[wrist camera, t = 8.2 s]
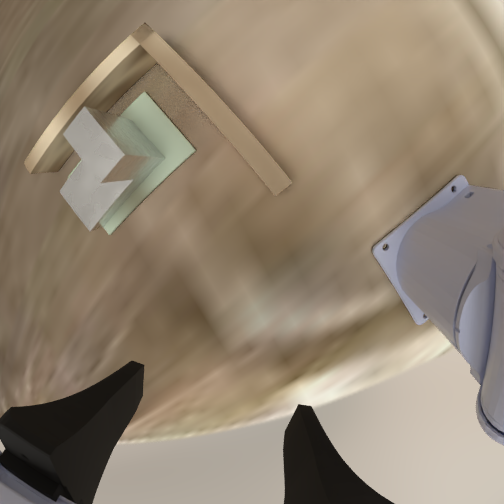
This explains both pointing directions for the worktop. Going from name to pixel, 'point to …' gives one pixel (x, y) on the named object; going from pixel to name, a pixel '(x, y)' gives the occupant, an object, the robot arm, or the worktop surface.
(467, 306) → the robot arm
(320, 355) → the worktop surface
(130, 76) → the wooden corner frame
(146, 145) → the block
